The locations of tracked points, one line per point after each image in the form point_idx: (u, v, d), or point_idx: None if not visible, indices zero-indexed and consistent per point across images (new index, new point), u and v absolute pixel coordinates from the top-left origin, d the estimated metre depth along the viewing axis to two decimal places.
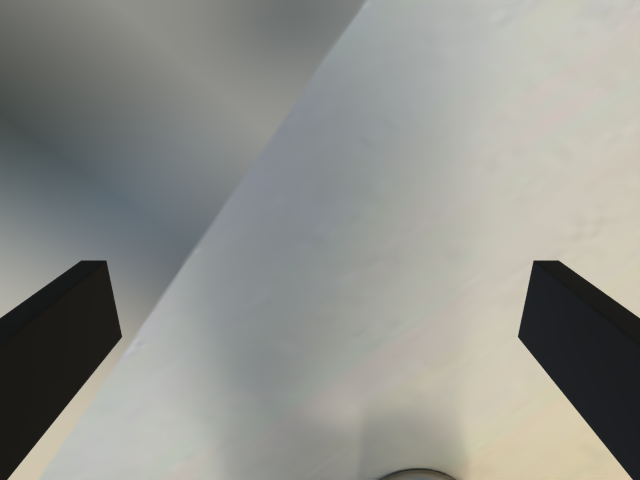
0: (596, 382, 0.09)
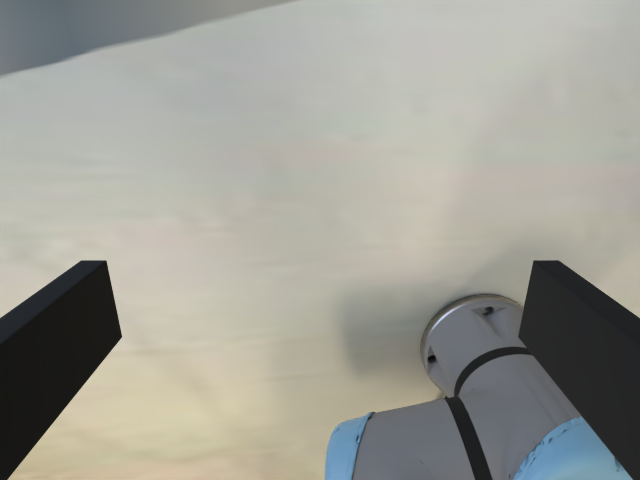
0: (596, 382, 0.09)
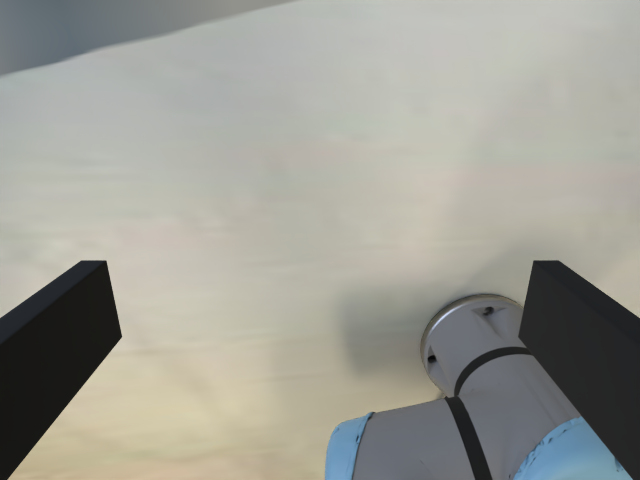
0: (596, 382, 0.09)
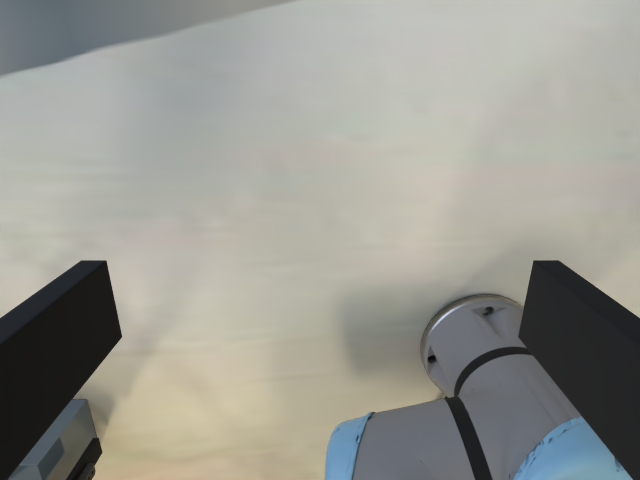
0: (596, 382, 0.09)
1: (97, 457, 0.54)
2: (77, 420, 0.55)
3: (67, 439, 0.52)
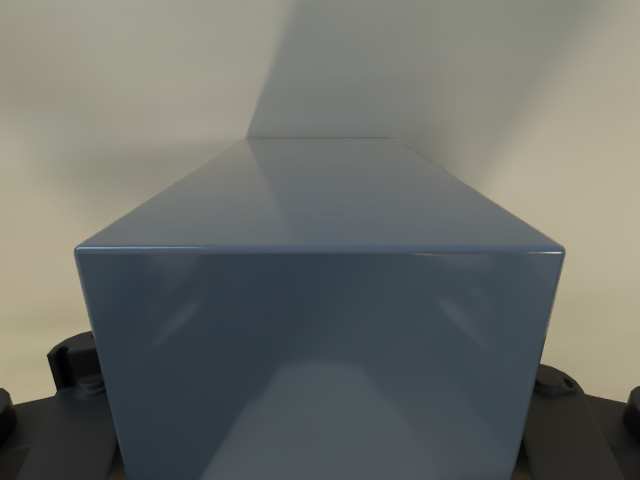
0: None
1: None
2: None
3: None
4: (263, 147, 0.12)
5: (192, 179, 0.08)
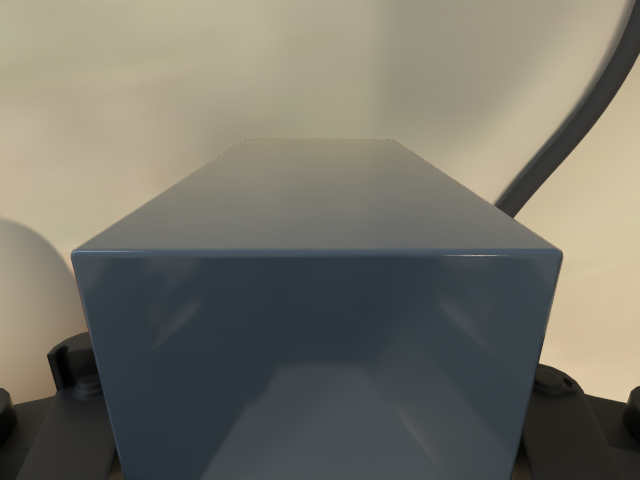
0: None
1: None
2: None
3: None
4: (262, 148, 0.12)
5: (190, 181, 0.08)
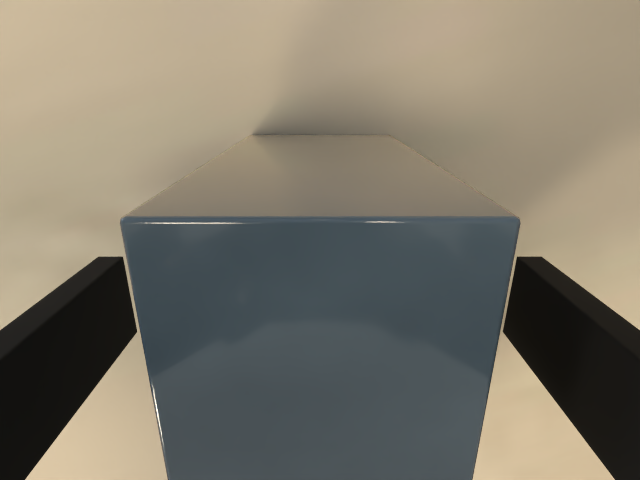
0: (573, 374, 0.10)
1: None
2: None
3: None
4: (268, 142, 0.13)
5: (207, 169, 0.09)
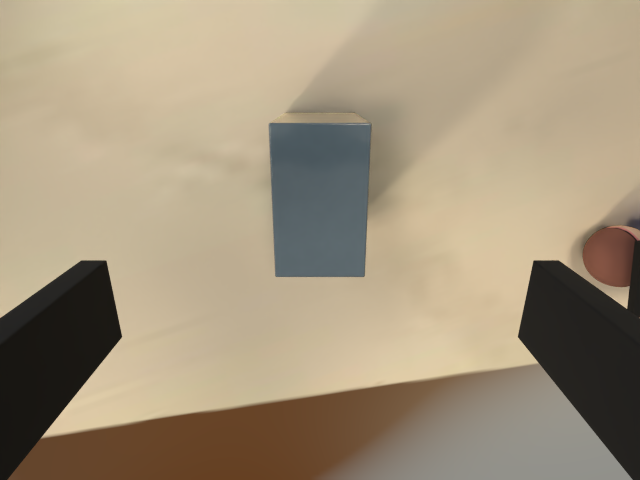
0: (596, 382, 0.09)
1: None
2: None
3: None
4: (296, 114, 0.29)
5: (280, 118, 0.24)
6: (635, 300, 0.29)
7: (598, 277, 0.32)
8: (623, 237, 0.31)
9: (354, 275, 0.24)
